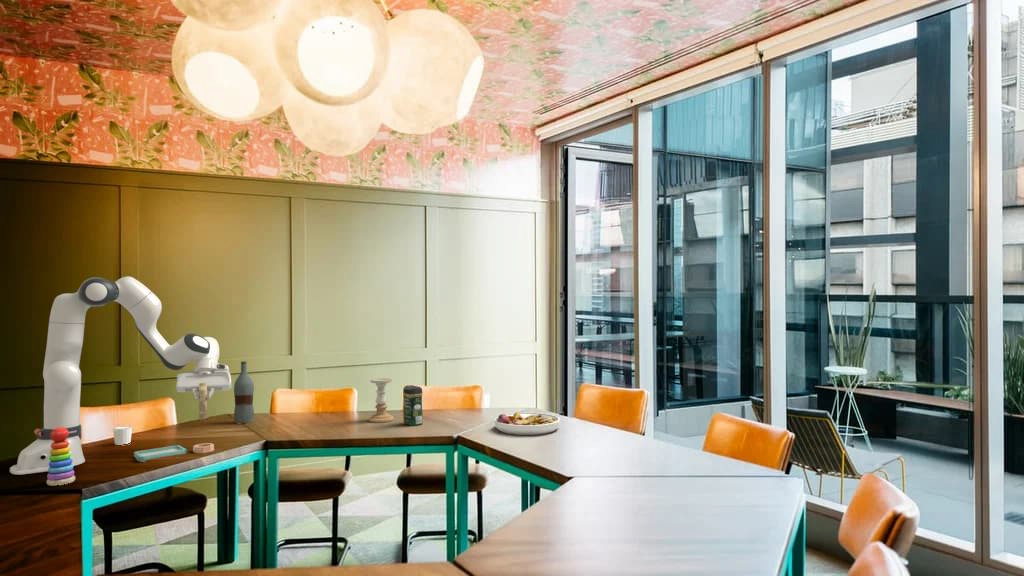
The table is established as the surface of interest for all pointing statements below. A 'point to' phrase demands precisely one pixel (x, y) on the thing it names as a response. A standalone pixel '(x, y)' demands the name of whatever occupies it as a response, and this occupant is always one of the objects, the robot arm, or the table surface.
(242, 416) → the bottle
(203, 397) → the dowel
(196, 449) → the wooden ring
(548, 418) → the bowl
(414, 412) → the coffee jar
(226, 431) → the table surface
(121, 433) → the white tapered pot
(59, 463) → the stacking toy
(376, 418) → the candle holder
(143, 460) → the tray
